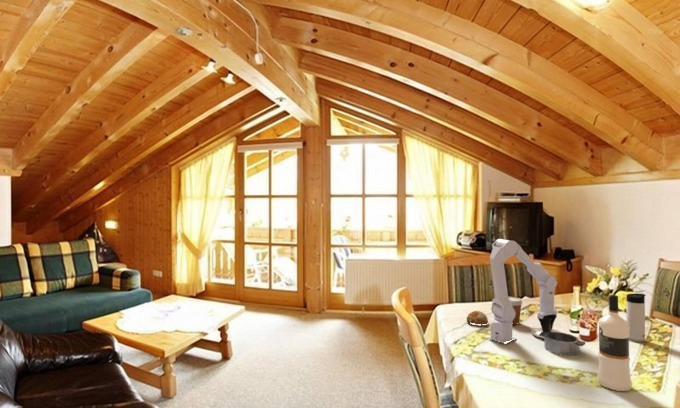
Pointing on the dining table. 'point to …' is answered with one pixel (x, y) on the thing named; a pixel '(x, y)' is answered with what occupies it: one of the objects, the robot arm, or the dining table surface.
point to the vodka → (614, 350)
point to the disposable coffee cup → (516, 308)
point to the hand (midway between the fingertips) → (547, 331)
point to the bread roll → (477, 318)
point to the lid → (539, 330)
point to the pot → (562, 343)
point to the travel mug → (636, 317)
